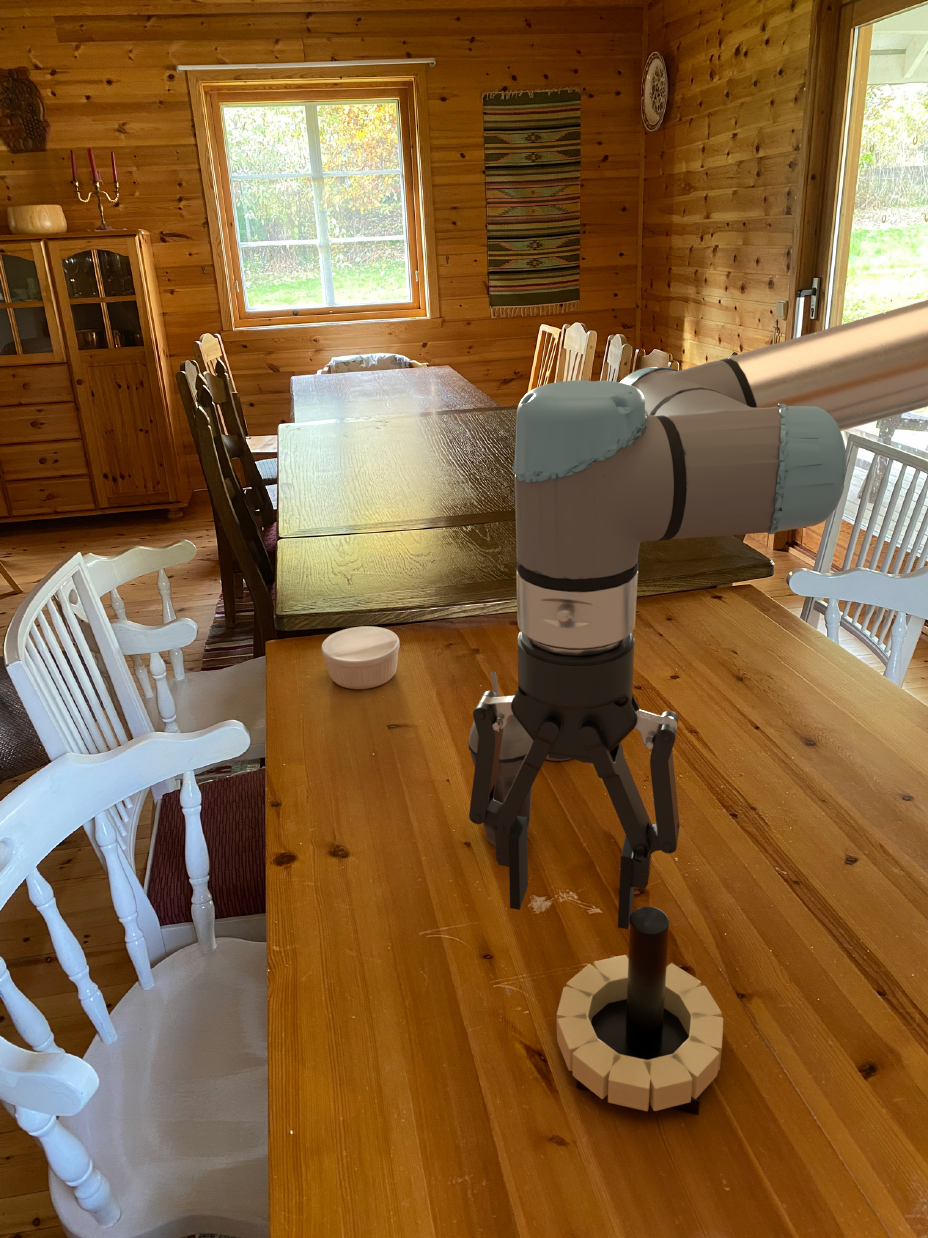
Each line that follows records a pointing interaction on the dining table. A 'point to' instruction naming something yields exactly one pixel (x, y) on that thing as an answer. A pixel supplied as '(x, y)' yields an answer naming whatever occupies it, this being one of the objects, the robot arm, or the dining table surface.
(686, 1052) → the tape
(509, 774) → the beverage cup
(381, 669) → the ramekin
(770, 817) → the dining table surface
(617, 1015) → the stand
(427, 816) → the dining table surface
